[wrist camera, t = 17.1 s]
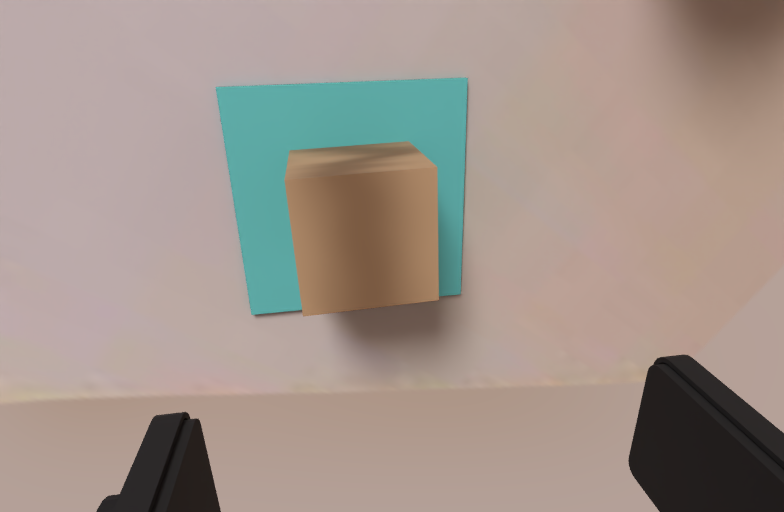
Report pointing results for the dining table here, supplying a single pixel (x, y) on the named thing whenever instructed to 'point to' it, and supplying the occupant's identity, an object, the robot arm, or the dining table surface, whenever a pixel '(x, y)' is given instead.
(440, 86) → the teal mat
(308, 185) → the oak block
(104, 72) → the dining table surface
